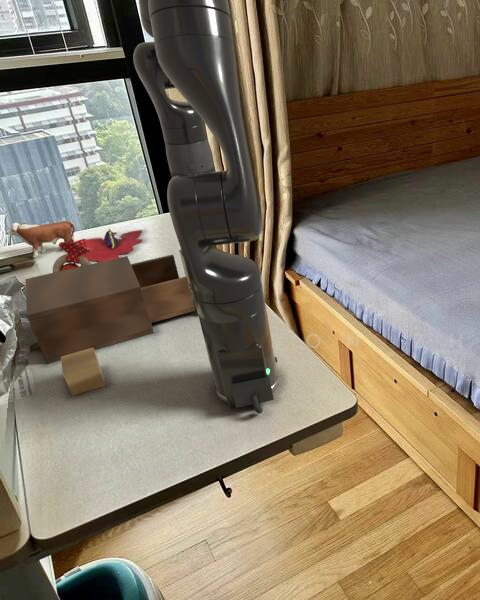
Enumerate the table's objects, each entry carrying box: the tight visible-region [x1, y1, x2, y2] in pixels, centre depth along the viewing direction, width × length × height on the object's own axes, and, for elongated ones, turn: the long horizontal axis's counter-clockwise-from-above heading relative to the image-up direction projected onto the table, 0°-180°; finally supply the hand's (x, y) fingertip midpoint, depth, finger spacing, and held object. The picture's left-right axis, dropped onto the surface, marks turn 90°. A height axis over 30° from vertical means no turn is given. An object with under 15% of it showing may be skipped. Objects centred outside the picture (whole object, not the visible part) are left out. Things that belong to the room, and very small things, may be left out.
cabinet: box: [25, 255, 155, 364], centre depth 97 cm, size 17×15×9 cm
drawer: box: [131, 249, 196, 324], centre depth 103 cm, size 22×14×8 cm, turn 122°
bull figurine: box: [8, 220, 76, 259], centre depth 126 cm, size 4×13×8 cm, turn 107°
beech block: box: [60, 348, 106, 397], centre depth 84 cm, size 5×5×5 cm
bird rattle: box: [52, 238, 92, 273], centre depth 110 cm, size 6×11×9 cm
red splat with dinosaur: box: [82, 228, 143, 263], centre depth 129 cm, size 18×15×5 cm
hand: (211, 255), depth 104 cm, fingers closed
